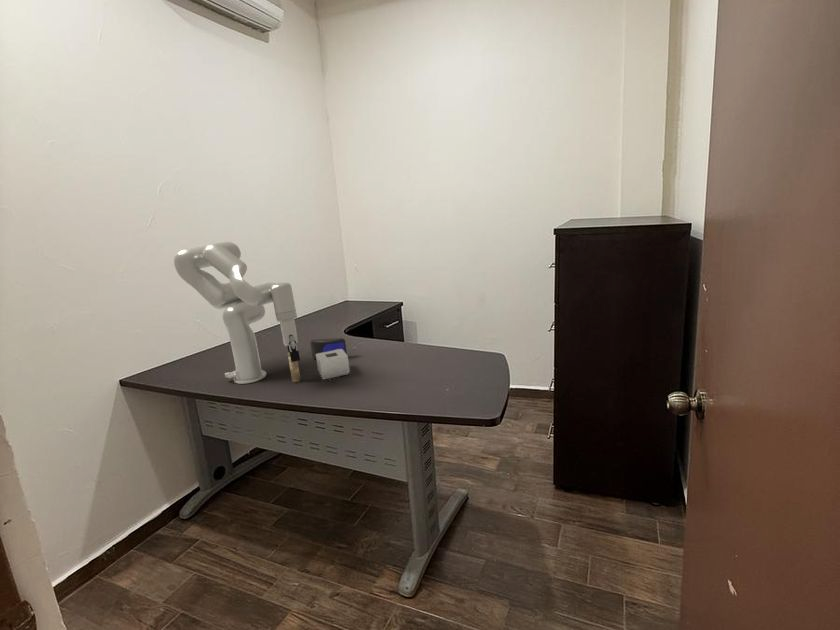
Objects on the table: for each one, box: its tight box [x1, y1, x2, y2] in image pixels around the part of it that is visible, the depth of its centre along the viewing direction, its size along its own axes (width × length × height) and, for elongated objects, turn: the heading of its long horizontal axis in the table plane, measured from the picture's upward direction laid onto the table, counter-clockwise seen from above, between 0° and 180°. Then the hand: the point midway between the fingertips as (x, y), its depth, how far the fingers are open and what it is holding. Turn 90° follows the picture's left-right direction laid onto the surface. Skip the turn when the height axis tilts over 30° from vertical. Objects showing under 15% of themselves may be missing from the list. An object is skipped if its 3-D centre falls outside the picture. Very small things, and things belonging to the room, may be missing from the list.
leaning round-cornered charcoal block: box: [309, 337, 348, 361], centre depth 186 cm, size 16×5×9 cm, turn 84°
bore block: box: [316, 349, 351, 380], centre depth 169 cm, size 11×11×8 cm
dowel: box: [287, 352, 301, 383], centre depth 163 cm, size 3×3×12 cm
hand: (294, 357), depth 162 cm, fingers open, 9 cm apart
